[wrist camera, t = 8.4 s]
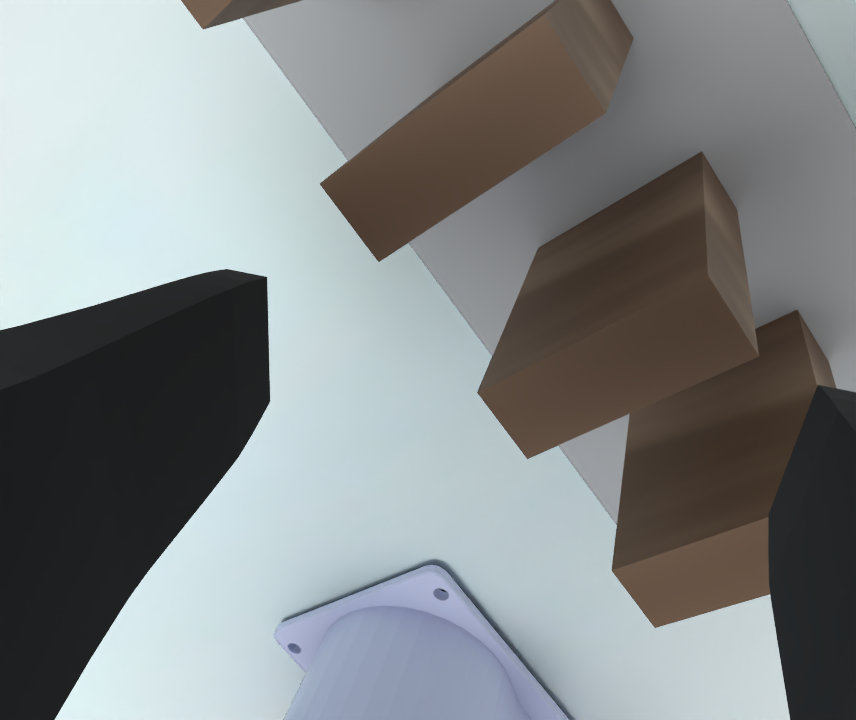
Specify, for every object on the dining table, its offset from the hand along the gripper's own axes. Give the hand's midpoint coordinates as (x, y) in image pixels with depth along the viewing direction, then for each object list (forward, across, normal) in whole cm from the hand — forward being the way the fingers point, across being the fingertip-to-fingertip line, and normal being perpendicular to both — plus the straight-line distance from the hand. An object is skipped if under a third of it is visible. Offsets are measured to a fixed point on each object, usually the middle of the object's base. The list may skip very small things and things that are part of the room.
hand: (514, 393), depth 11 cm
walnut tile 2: (+10, -1, +1) cm, 10 cm away
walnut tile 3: (+10, +2, -2) cm, 10 cm away
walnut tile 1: (+10, -4, +4) cm, 12 cm away
